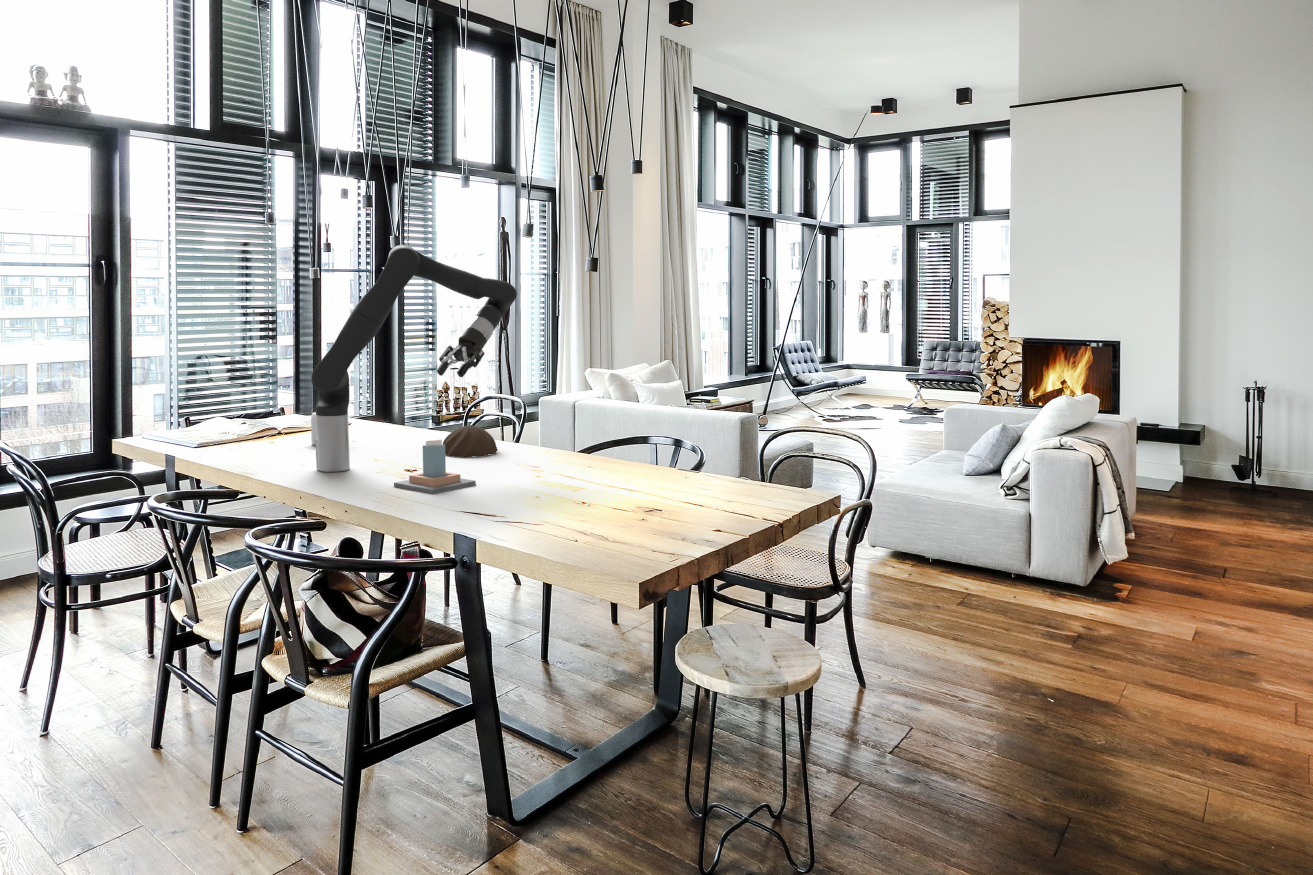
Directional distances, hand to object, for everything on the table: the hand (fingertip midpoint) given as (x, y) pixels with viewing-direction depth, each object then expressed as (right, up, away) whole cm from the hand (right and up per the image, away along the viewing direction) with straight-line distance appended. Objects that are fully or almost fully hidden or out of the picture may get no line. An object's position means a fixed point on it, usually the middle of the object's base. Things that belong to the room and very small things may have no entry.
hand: (449, 374), depth 265 cm
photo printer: (-59, -21, +62) cm, 88 cm away
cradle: (-2, -32, -10) cm, 34 cm away
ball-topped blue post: (-2, -31, -10) cm, 33 cm away
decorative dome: (-4, -24, +48) cm, 54 cm away
